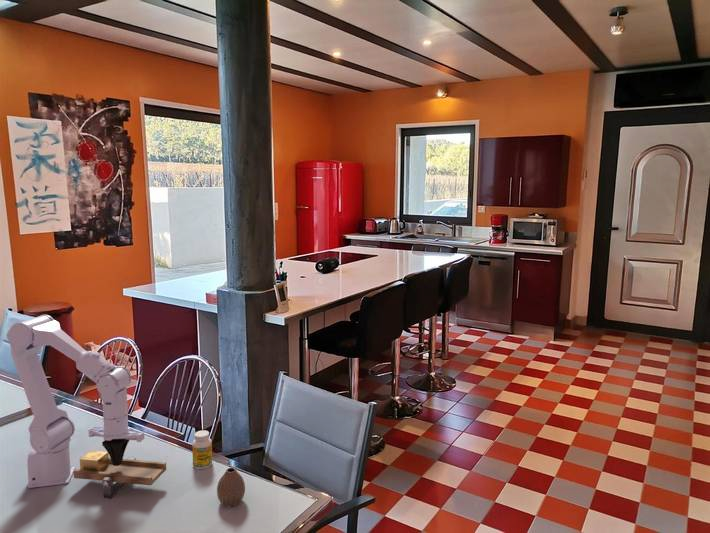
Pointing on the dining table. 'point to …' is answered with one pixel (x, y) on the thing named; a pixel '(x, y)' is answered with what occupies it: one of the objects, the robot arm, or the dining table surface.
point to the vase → (230, 488)
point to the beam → (126, 472)
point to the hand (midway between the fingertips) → (117, 463)
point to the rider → (94, 461)
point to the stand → (112, 486)
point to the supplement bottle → (202, 450)
